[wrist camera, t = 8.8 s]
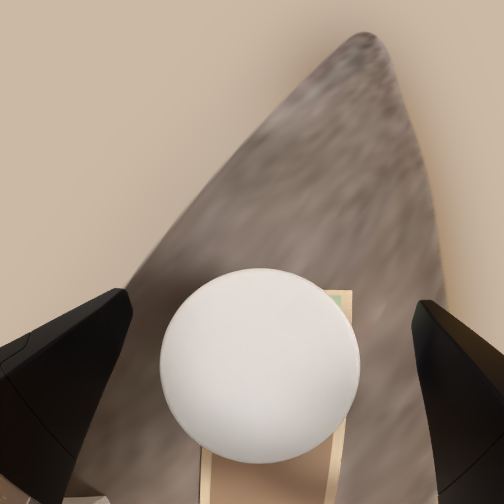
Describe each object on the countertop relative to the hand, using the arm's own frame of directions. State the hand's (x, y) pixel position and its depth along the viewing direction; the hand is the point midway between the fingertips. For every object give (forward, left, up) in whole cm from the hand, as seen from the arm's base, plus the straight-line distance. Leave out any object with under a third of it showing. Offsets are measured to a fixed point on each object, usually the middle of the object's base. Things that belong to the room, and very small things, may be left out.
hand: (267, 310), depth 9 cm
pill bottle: (-2, 0, -8) cm, 8 cm away
